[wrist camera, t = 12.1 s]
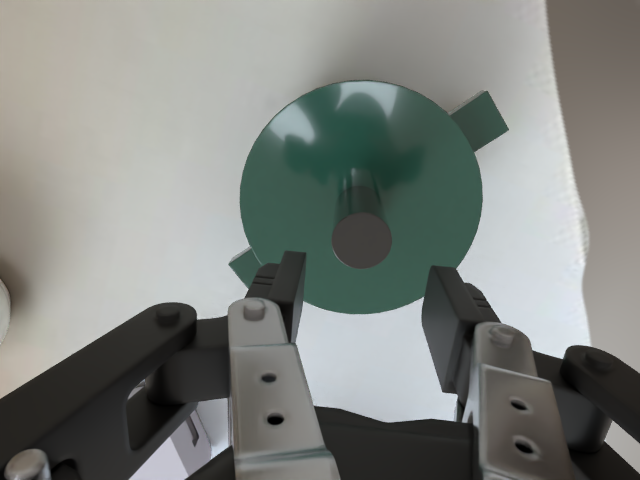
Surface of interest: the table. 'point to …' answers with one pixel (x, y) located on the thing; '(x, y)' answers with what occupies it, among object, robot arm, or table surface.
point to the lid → (362, 193)
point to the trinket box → (4, 311)
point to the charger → (177, 452)
